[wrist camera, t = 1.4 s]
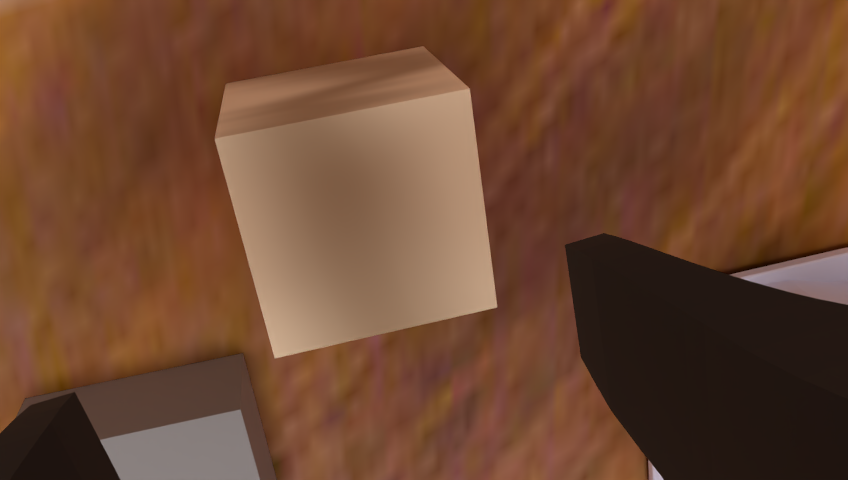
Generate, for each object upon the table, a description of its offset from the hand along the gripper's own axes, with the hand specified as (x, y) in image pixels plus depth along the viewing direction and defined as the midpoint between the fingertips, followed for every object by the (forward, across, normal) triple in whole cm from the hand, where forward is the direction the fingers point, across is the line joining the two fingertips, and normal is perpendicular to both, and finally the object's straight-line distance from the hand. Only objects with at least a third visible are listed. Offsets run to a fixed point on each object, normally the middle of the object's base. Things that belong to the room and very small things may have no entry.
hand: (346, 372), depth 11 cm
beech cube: (+10, -1, 0) cm, 10 cm away
